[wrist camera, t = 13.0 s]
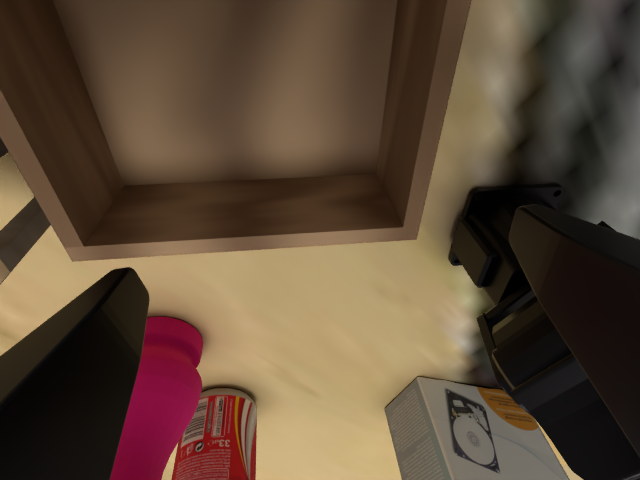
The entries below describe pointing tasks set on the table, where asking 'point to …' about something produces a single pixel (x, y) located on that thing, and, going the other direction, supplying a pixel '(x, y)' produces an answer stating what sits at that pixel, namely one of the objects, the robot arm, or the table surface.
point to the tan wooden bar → (3, 271)
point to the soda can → (219, 438)
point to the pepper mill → (160, 399)
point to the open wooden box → (222, 121)
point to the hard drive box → (467, 435)
